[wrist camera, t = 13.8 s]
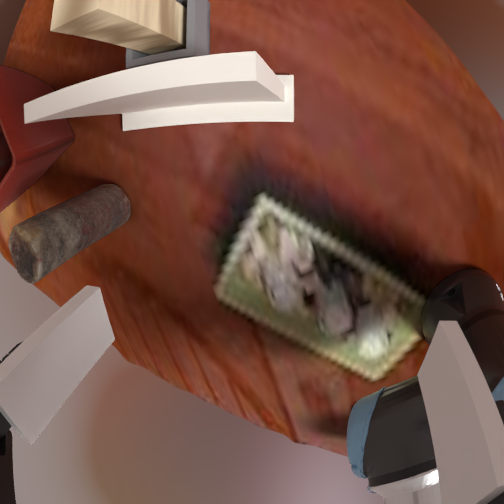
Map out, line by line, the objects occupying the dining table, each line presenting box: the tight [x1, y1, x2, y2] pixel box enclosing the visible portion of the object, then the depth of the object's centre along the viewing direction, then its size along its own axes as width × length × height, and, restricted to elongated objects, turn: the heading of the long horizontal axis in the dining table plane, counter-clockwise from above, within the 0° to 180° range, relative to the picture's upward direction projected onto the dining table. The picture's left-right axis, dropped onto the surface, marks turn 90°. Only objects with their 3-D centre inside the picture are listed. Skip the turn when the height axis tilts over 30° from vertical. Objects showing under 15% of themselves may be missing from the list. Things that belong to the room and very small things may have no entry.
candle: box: [9, 184, 131, 284], centre depth 36 cm, size 8×7×20 cm
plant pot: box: [0, 65, 74, 212], centre depth 35 cm, size 19×19×17 cm
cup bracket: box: [24, 0, 294, 131], centre depth 26 cm, size 24×14×20 cm, turn 91°
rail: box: [50, 0, 187, 55], centre depth 19 cm, size 4×4×16 cm
